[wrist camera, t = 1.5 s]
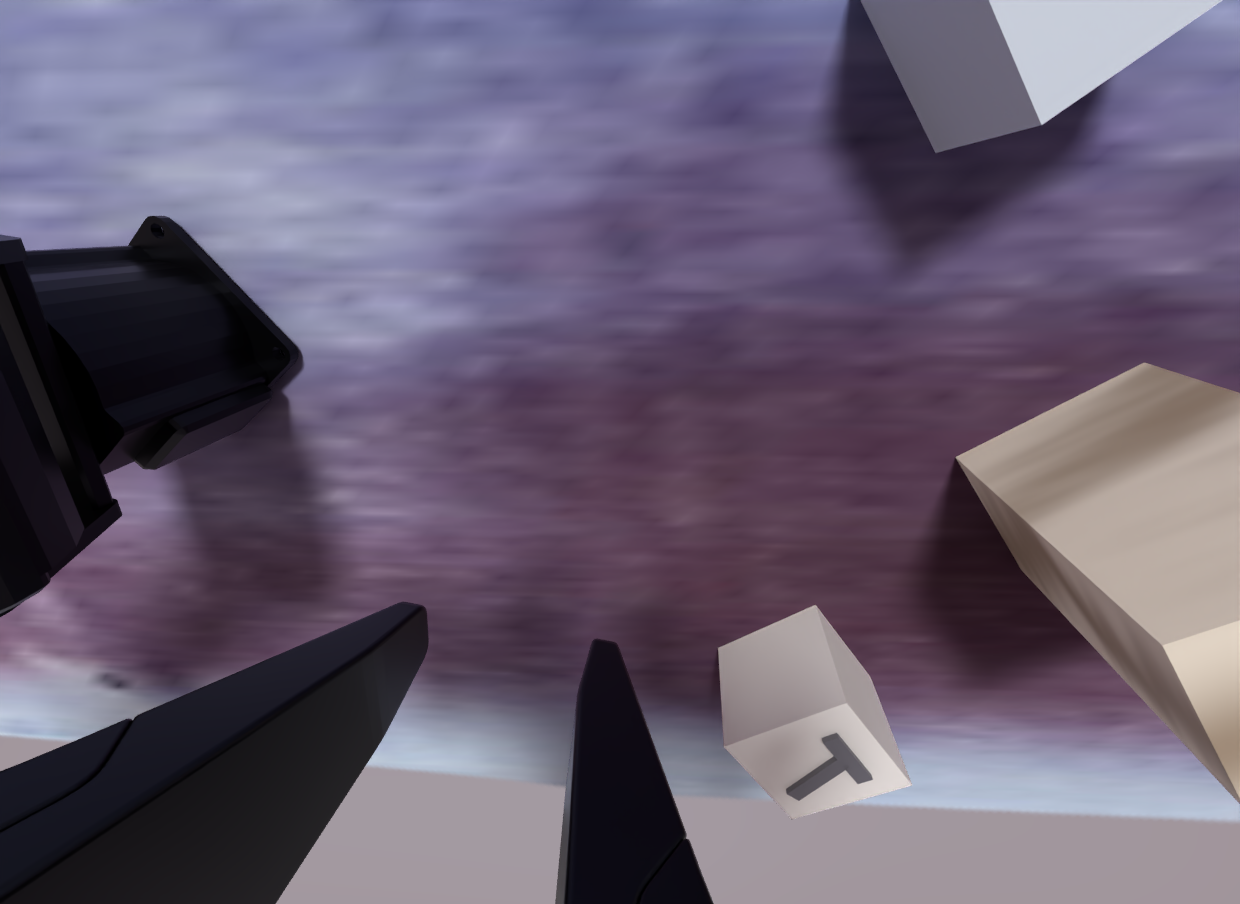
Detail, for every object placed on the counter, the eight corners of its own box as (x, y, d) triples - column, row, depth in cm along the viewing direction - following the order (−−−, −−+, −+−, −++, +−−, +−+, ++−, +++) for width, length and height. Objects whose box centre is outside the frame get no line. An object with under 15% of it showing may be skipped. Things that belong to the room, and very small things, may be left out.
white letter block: (717, 646, 24) (724, 751, 19) (815, 603, 22) (848, 707, 17) (773, 711, 25) (792, 824, 20) (869, 675, 23) (914, 791, 19)
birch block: (955, 456, 18) (1163, 645, 10) (1143, 362, 16) (1591, 505, 8) (1021, 569, 20) (1245, 810, 12) (1200, 496, 18) (1623, 728, 10)
